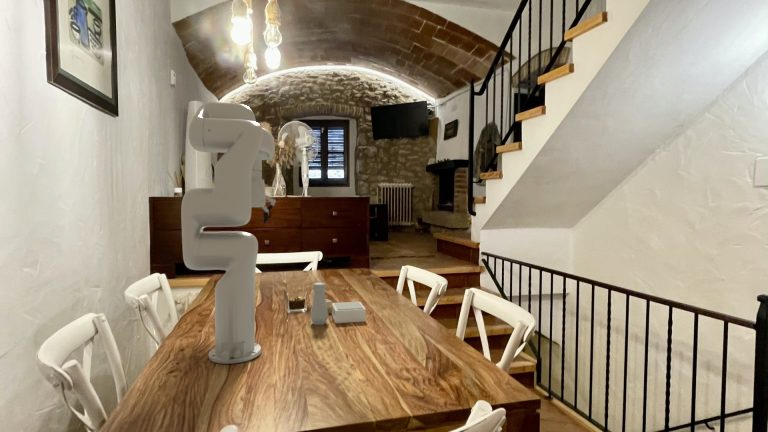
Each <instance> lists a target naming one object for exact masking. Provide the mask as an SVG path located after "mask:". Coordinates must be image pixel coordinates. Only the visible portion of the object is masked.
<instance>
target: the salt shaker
mask: <svg viewBox="0 0 768 432" xmlns="http://www.w3.org/2000/svg"><path fill="white" fill-rule="evenodd" d="M326 289H327V285H326V283H324V282H314V283H313V284H312V291H313V292H314V293H313V298H312V303H311V304H312V305H311V311H310V320H311V323H312V324H313V325H314V326H324V325H326V323H327V320H328V318H329V313H328V310H327V304H326V299H327V298H326V293H325V292H326Z"/></svg>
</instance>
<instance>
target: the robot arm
mask: <svg viewBox="0 0 768 432" xmlns="http://www.w3.org/2000/svg"><path fill="white" fill-rule="evenodd" d="M190 121H191V122H190V123H189V128H188V140H189V144H190V146H191V147H192V148H193V149H194V150H196V151H198V152H200V153H201V152H202V153H223V155H222V156H221V157H220V159H219V160H218V161H217V162H216V164H215V165H214V174H213V175H214V185H213V187H195V188H192V189H191V188H190V189H188V190H187V191H186V192H185V193H184V195H183V198H182V200H181V210H180V212H181V213H180V215H181V216H180V217H181V218H180V219H181V221H180V222H181V244H182V259H183V262H184V266H186V268H188V269H189V270H193V271H213V270H214V271H215V270H220V271H225V273H224V274H223V276H221V278H220V279H219V280H218V281H217V283H216V285H215V286H214V287H215V288H214V328H215V330H214V333H215V334H214V339H215V341H214V342H215V343H214V344H215V345H214V347H213V348H212V349H210V351H209V352H208V359H209V360H210V362H213V363H216V364H224V365H225V364H226V365H227V364H228V365H229V364H238V363H244V362H248V361H252V360H253V359H255V358H257V357H258V356H260V355H261V352H262V346H261V345H260V344H259V343H256V326H255V325H256V324H255V323H256V321H255V320H256V319H255V318H256V317H255V316H256V315H255V314H256V313H255V312H256V309H255V308H256V307H255V305H256V304H255V303H256V302H255V301H256V300H255V299H256V297H255V295H256V294H255V291H256V290H255V289H256V287H255V285H256V284H255V283H256V269H257V268H256V266H257V260H258V253H259V241H258V239H257V237H256V236H255V235H254V234H252V233H250V232H247V231H240V230H233V231H232V230H231V231H229V230H227V231H226V230H225V231H224V230H223V231H204V229H205V228H211V227H212V228H214V227H215V228H216V227H217V228H223V227H224V228H225V227H226V228H227V227H229V228H230V227H232V228H233V227H241V226H245V225H247V224H248V223H249V222H250V221H251V218H252V208H261V209H262V210H264V211H263V224H267V222H268V221H269V212H270V211H271V210H272V209H273V208H274V206H275V204H276V203H277V201H276V199H274V198H272V197H270V196H268V195H267V194H266V193H267V192H266V184H265V180H264V179H263V166H262V165H263V164H262V163H263V161H270V160H272V159H273V158H274V156H275V153H276V147H275V146H276V143H275V139H274V138H275V137H274V136H273V134H272V132H271V131H269V130H268V129H266V128H264V127H263V126H262V125H261V124H260V123H259V122H257V119H256V116H255V113H254V112H253V110H252V109H251V108H250V106H248V105H245V104H242V103H234V102H216V101H209V102H208V101H207V102H205V103H203V104H202V105H200V107H199V108H198V109H197V111H196V112H195V114H194V116H193V117H192V119H191V120H190ZM266 201H269V202H270V205H268V207H267V206H266V203H267V202H266Z"/></svg>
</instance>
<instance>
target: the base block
mask: <svg viewBox="0 0 768 432" xmlns="http://www.w3.org/2000/svg"><path fill="white" fill-rule="evenodd" d="M366 314H367V309H366V307H365V306H364V305H363V303H362V301H345V302H333V303H332V313H331V316H332V319H333V321H334V323H335V324H345V323H362V322H366V321H367V318H366V317H367V315H366Z"/></svg>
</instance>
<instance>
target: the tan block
mask: <svg viewBox="0 0 768 432" xmlns="http://www.w3.org/2000/svg"><path fill="white" fill-rule="evenodd" d="M325 299H326V304H327V310H328V314H332V303H334V302H333V301H332V300H331V299H328V298H325Z"/></svg>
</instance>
